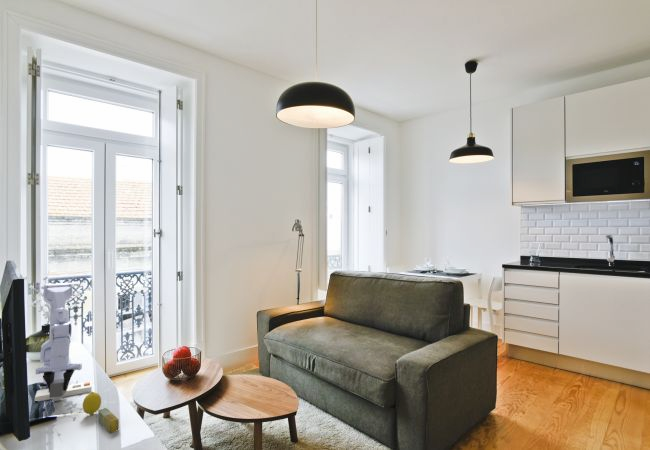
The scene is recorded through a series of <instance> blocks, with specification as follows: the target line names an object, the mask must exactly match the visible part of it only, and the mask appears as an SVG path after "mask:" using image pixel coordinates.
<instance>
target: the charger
mask: <svg viewBox="0 0 650 450" xmlns="http://www.w3.org/2000/svg"><path fill="white" fill-rule="evenodd" d="M66 391H67V390H66ZM66 391H64V379H58V380H54V381H53V382H52V383H51V384H50V396H49V398H52V397H54V399H52V400H53V402H55V401H61V400H62V399H63V397H62V396H63V395H64V394H65V393H66Z"/></svg>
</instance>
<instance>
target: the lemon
mask: <svg viewBox="0 0 650 450" xmlns="http://www.w3.org/2000/svg"><path fill="white" fill-rule="evenodd" d="M101 404H102V398H101V396H100V394H99V393H97V392H95V391H91V392H89V393H88V394H87V395H85V397H84V399H83V402H82V410H83V412H84V413H86V415H91V416H93V415H94V414H95V413H96V412H98V410H100V408H101Z"/></svg>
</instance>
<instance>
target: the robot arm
mask: <svg viewBox="0 0 650 450" xmlns="http://www.w3.org/2000/svg"><path fill="white" fill-rule="evenodd" d="M72 295H73V283H72V282H64V283H63V282H61V283H45V284H44V285H43V301H44V302H45V303H49V306H50V316H49V335H48V336H49V339H48V340H45V341H44V342H43V343H42V344H41V346H40V356H39V359H40V360H39V361H40V363H41V364H43V367H42V366H41V367H37V368H35V375H40V374H43V375H42V378H43V380H42V382H43V383H42V384H44V385H47V389H49V392H50V384H51V383H52V382H53V381H54V380H58V379H64V391H66V390H67V388H68V385H70V380H71V379H72V377H73V375H74V372H75V371H81V370H82V368H83V363H69V360H70V341H71V340H70V337H71V336H72V329H73V327H72V326H73V325H72V322H71V320H70V315H69V313H70V312H69V310H68V309H66V301H69V300H70V299H71V297H72Z"/></svg>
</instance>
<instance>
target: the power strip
mask: <svg viewBox="0 0 650 450" xmlns="http://www.w3.org/2000/svg"><path fill="white" fill-rule="evenodd" d="M91 392H92V380H90V381H85V382H78V383H73V384H68V388H67V391H66V393H65V394H64V395H63V396H62V398H64V397H68V396H75V395H79V394H86V393H91ZM49 396H50V392H49V388H44V389H39V390H37V391H36V393H35V397H34V402H35V401H38V402H43V401H47V400H53V399H54V397H52V398H49Z"/></svg>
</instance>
